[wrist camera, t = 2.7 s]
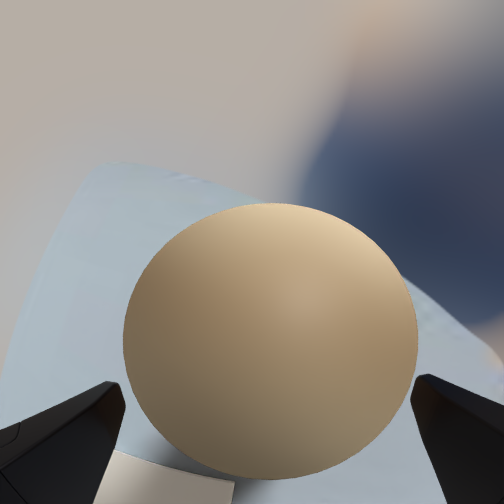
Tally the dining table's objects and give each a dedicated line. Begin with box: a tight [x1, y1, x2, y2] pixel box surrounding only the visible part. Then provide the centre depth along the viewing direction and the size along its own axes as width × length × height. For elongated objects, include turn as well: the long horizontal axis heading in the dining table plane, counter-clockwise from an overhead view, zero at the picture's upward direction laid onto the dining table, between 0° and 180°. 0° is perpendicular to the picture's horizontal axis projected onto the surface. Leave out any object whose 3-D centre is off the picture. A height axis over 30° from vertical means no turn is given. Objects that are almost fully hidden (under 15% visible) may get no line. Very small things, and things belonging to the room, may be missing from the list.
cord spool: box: [123, 203, 418, 480], centre depth 10 cm, size 7×7×13 cm
